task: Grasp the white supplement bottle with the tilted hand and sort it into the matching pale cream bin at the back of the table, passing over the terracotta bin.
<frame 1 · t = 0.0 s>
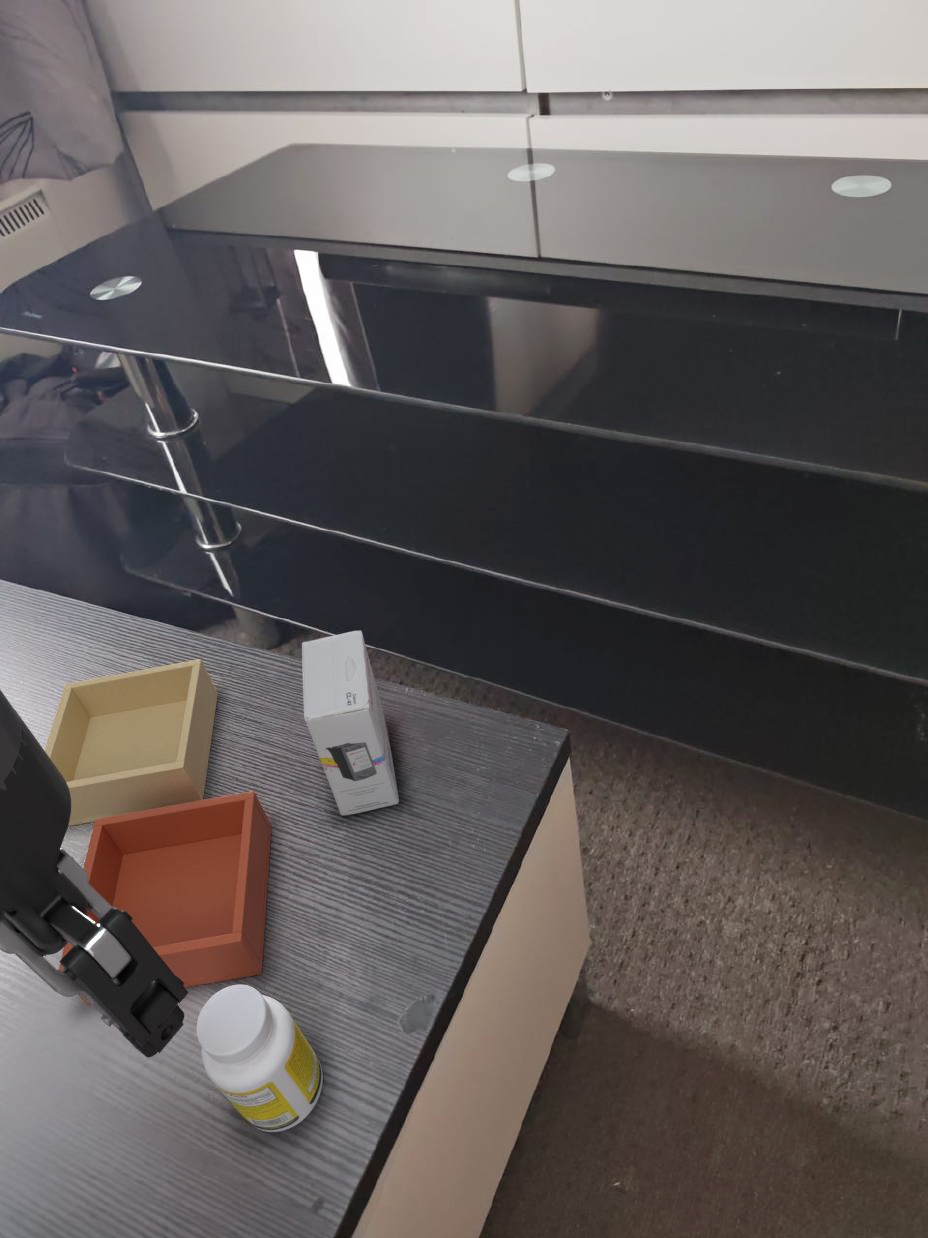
hand: (103, 987, 42), 20 cm above the table, tool pointing down, fingers open, 8 cm apart
terracotta bin: (185, 909, 68), on the table
cream bin: (141, 757, 80), on the table
supplement bottle: (282, 1089, 57), on the table
ink box: (368, 772, 75), on the table
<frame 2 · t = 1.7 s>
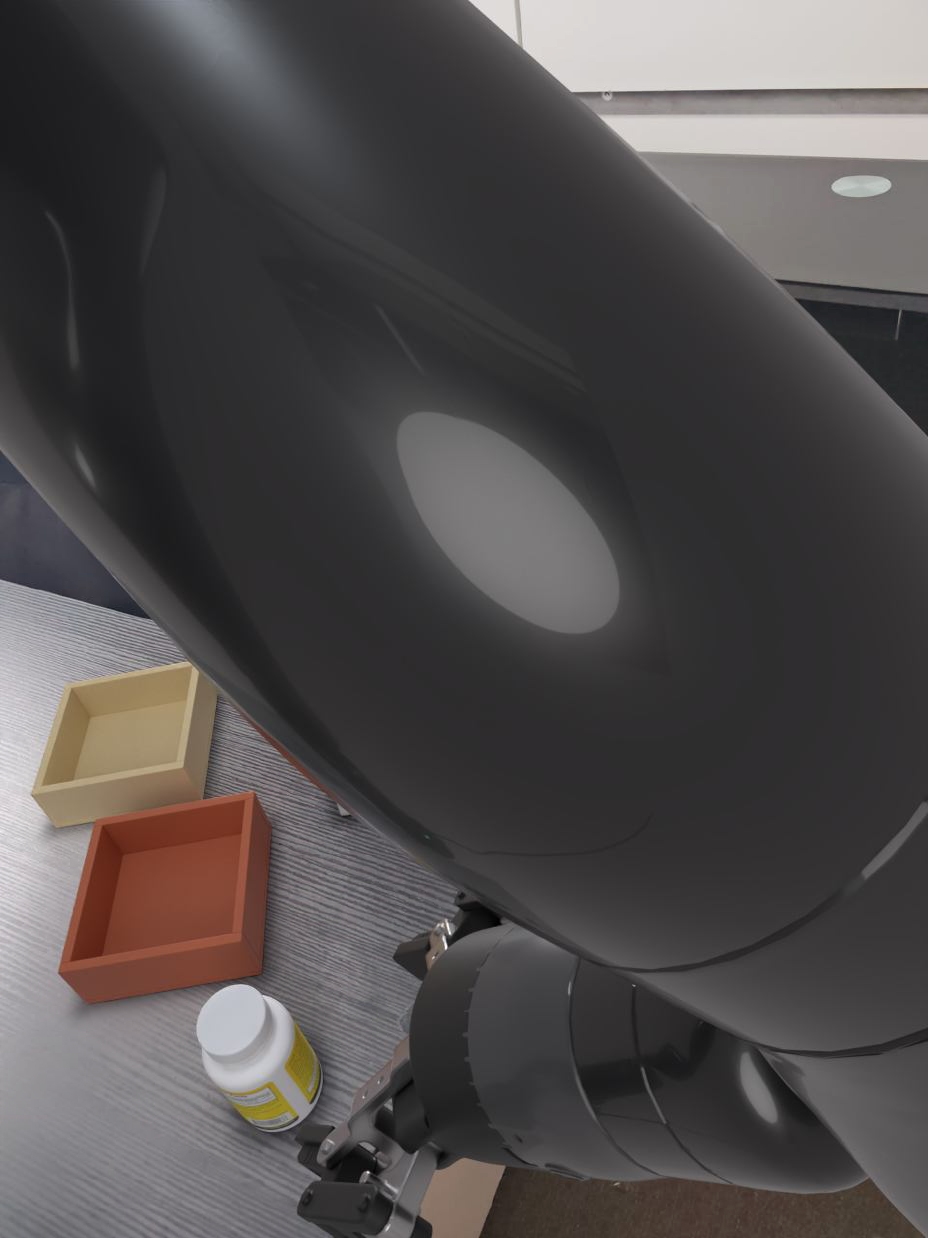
hand: (365, 1049, 41), 17 cm above the table, tool tilted 45°, fingers open, 8 cm apart
nothing on the table moved.
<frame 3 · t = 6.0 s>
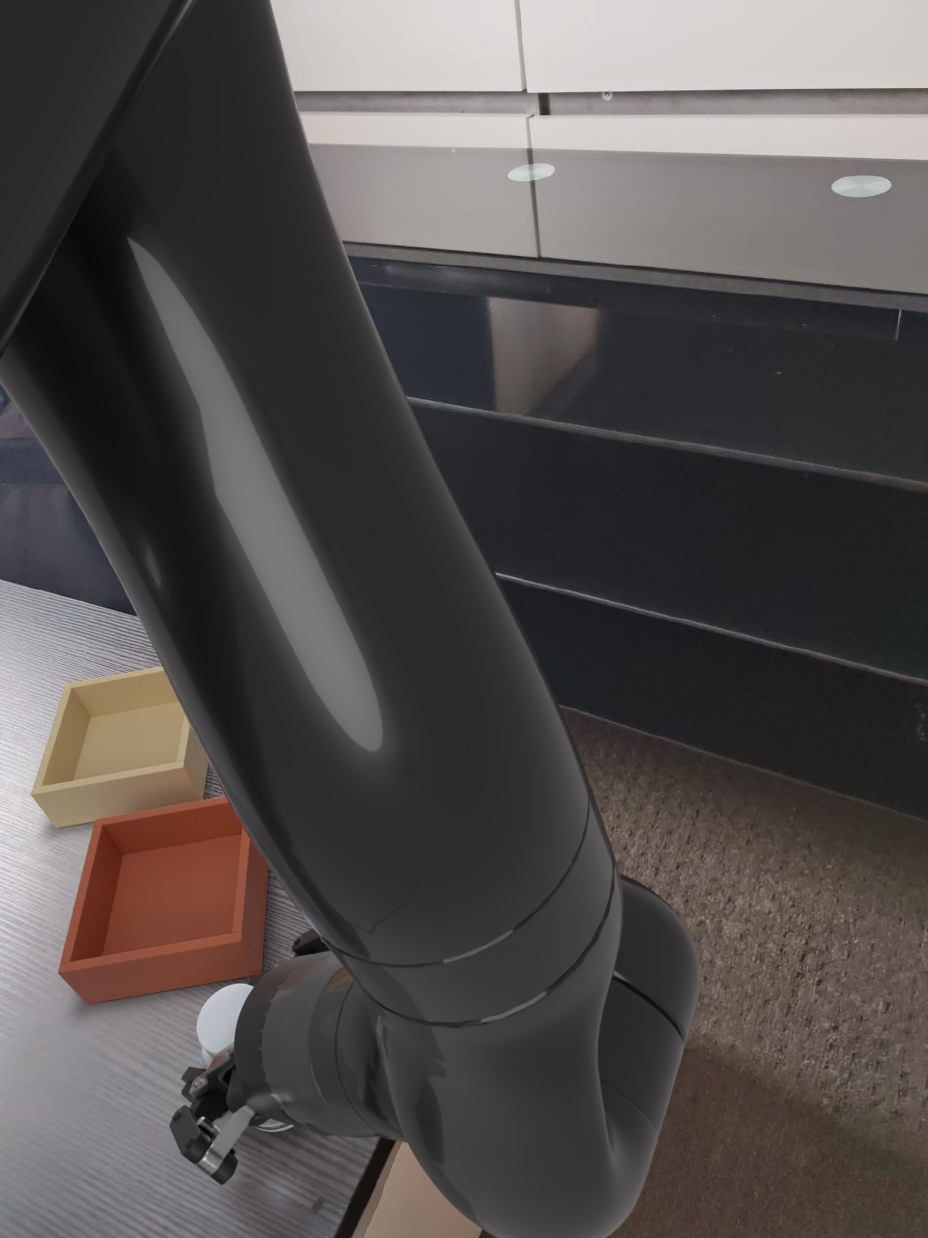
hand: (230, 1036, 54), 6 cm above the table, tool tilted 45°, fingers closed on supplement bottle, 5 cm apart
supplement bottle: (282, 1089, 57), on the table, touching gripper
everything else where it was.
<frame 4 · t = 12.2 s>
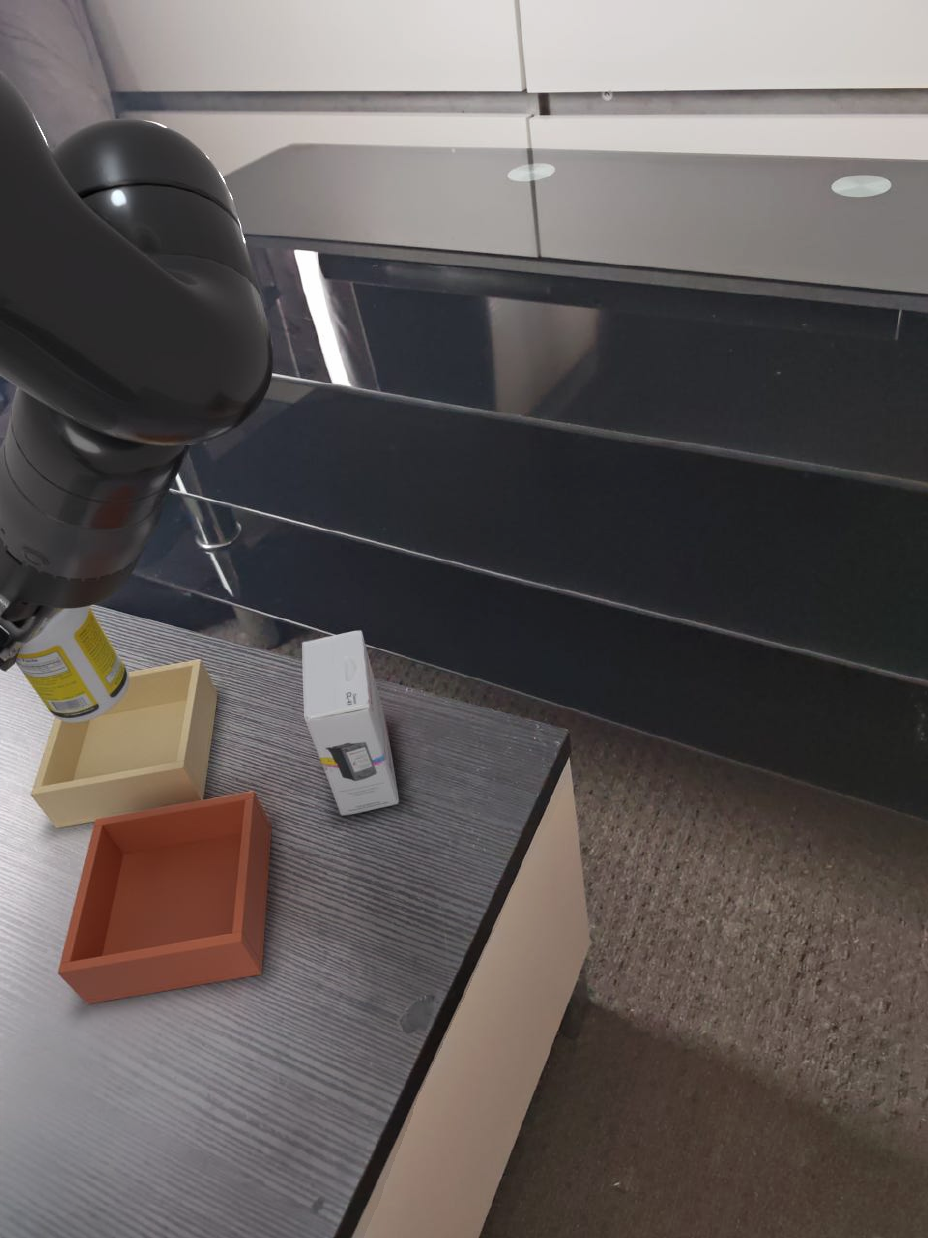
hand: (33, 625, 58), 23 cm above the table, tool tilted 45°, fingers closed on supplement bottle, 5 cm apart
supplement bottle: (92, 696, 61), point 17 cm above the table, touching gripper
everything else where it was.
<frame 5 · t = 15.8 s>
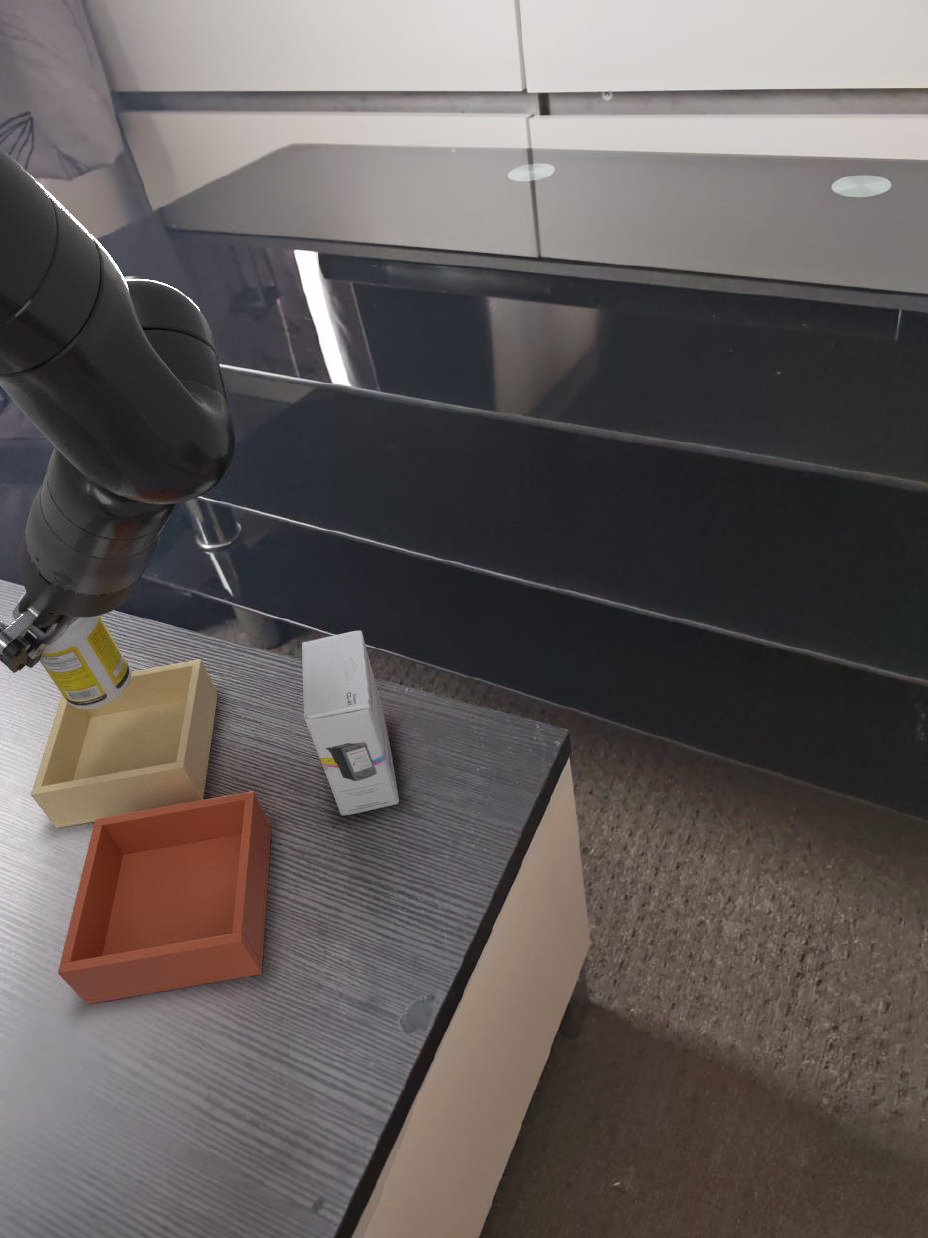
hand: (52, 630, 71), 15 cm above the table, tool tilted 45°, fingers closed on supplement bottle, 5 cm apart
supplement bottle: (101, 688, 74), point 9 cm above the table, touching gripper
everything else where it was.
when the fingers open (6 cm above the table, at t = 18.6 s): supplement bottle stays where it is, resting on cream bin.
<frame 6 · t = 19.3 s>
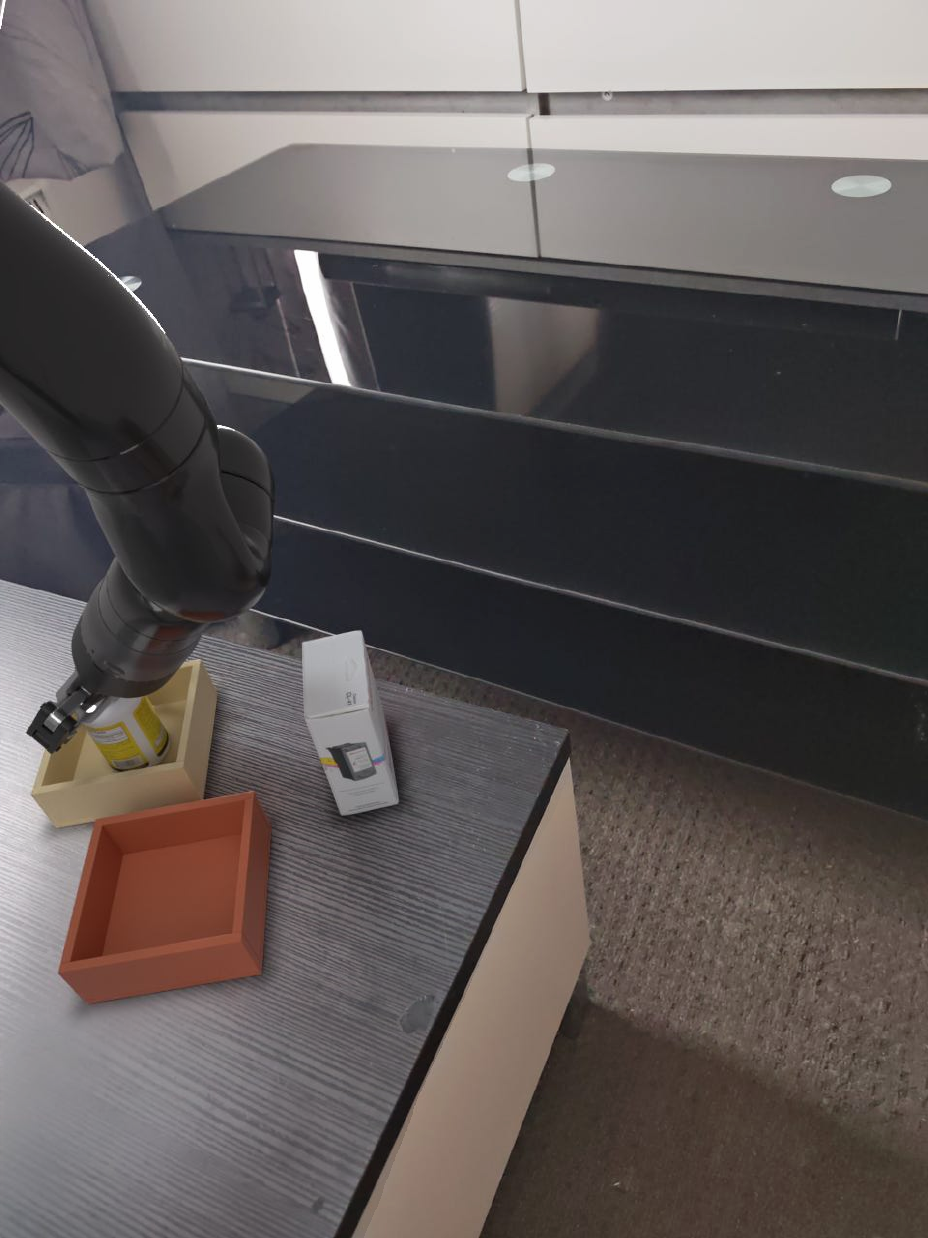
hand: (95, 696, 76), 7 cm above the table, tool tilted 45°, fingers open, 8 cm apart
supplement bottle: (142, 754, 80), resting on cream bin
everything else where it was.
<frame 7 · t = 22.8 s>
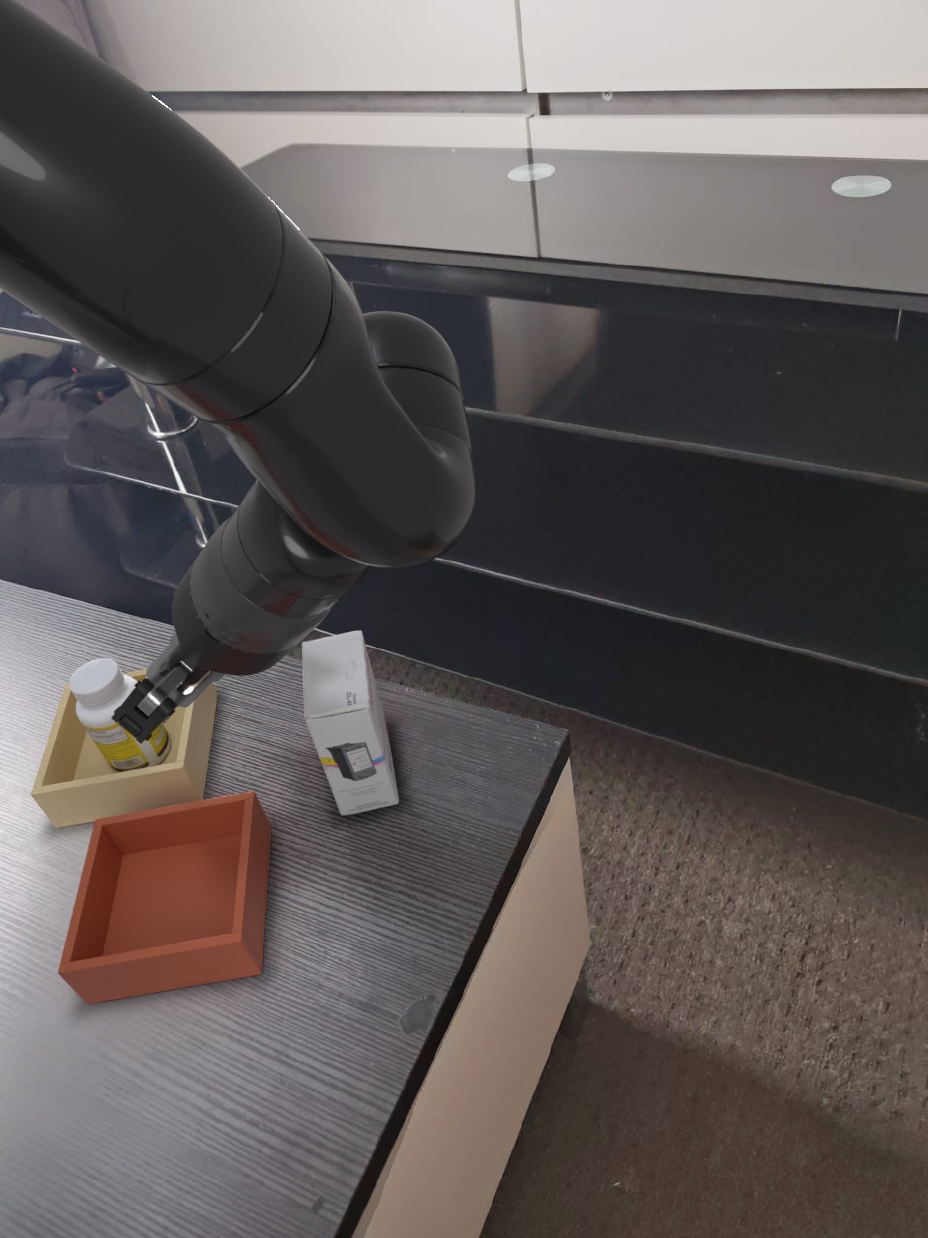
hand: (182, 677, 64), 15 cm above the table, tool tilted 45°, fingers open, 8 cm apart
nothing on the table moved.
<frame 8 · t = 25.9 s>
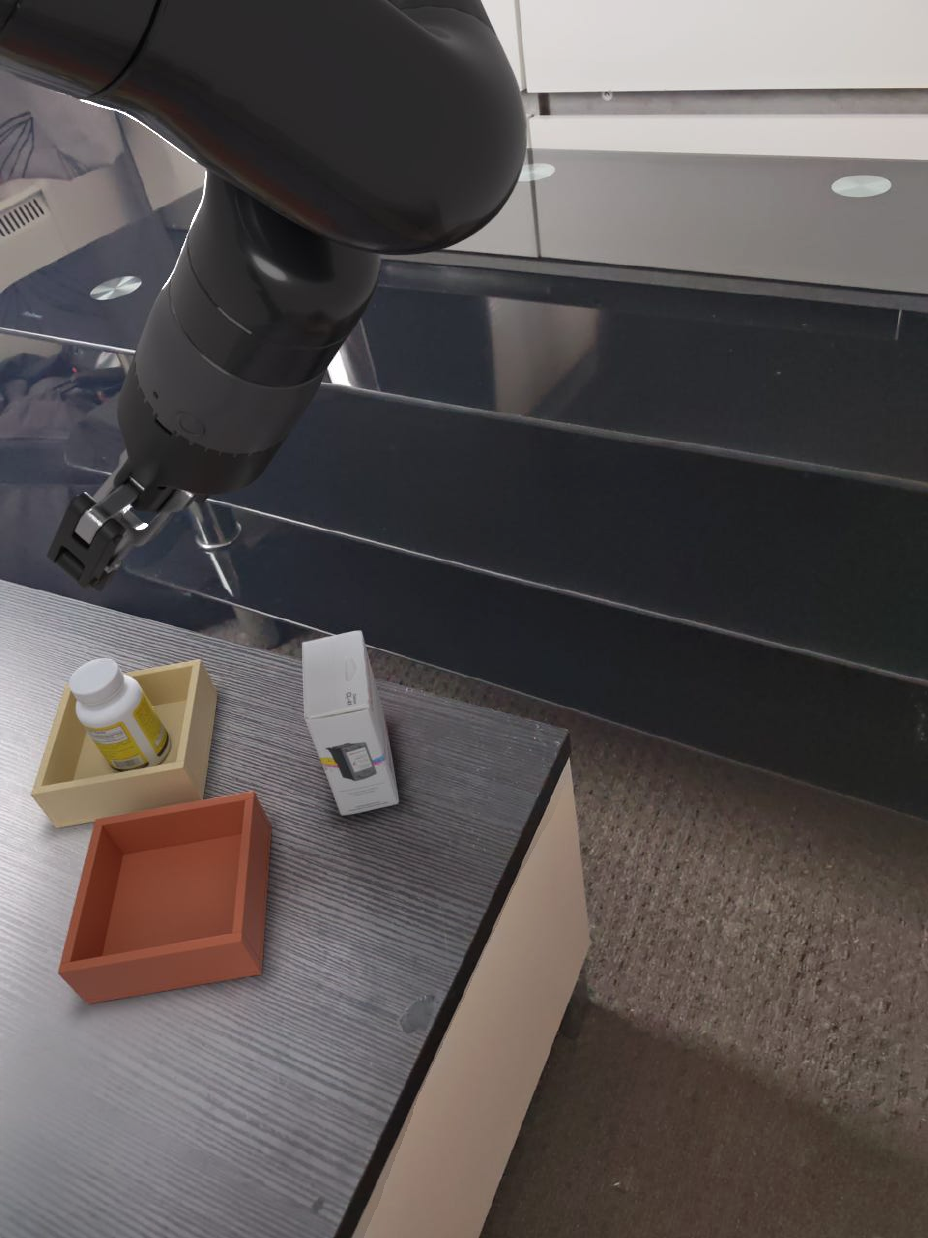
hand: (142, 531, 54), 29 cm above the table, tool tilted 45°, fingers open, 8 cm apart
nothing on the table moved.
at the end: supplement bottle inside the target area in the cream bin (0.2 cm from its centre), point 0.4 cm above the cream bin's base; supplement bottle tilted 0°; the gripper is holding nothing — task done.
